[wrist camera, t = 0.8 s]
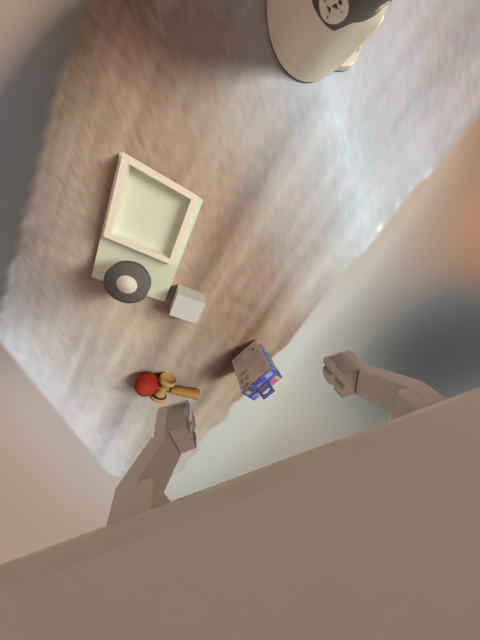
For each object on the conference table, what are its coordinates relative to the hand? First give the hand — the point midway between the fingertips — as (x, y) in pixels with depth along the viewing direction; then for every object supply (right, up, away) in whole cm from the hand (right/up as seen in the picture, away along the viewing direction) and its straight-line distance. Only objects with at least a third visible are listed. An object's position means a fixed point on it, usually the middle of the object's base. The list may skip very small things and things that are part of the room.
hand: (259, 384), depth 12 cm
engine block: (-13, +9, +36) cm, 39 cm away
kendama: (-21, -14, +47) cm, 54 cm away
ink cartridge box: (+1, -6, +49) cm, 49 cm away
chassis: (-19, +20, +28) cm, 39 cm away
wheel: (-21, +11, +25) cm, 35 cm away
